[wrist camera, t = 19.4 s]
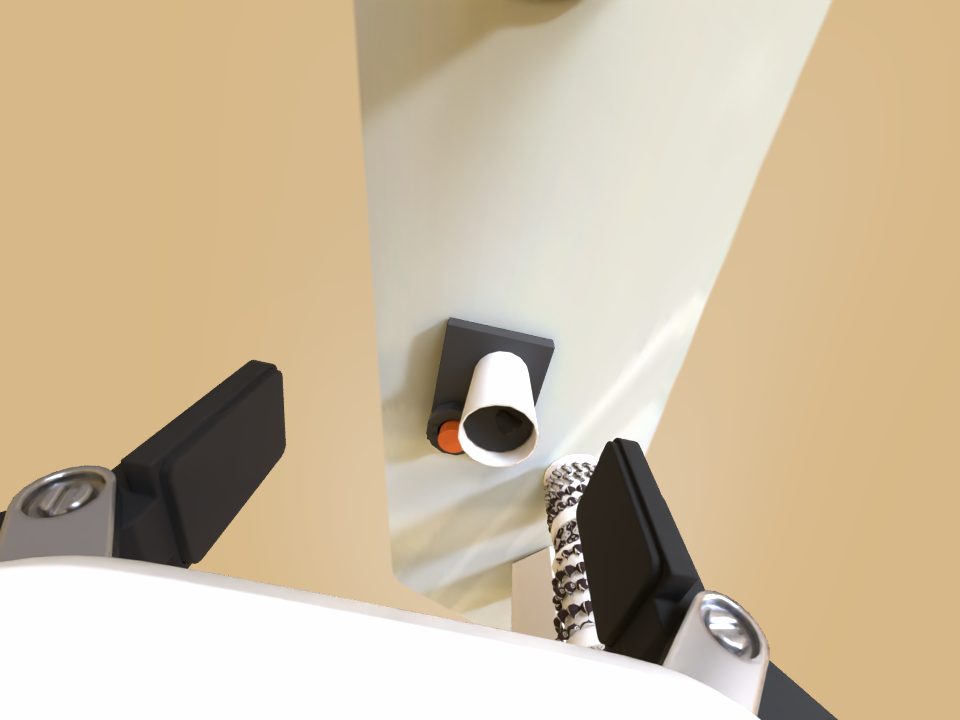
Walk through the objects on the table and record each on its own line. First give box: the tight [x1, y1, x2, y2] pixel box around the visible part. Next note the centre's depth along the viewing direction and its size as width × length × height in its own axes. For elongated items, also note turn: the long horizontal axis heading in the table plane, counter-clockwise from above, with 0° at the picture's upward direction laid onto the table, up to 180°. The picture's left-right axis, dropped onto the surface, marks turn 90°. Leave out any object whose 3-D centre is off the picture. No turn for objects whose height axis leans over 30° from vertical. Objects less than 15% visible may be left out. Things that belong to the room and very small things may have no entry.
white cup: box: [458, 351, 539, 468], centre depth 36 cm, size 7×7×10 cm
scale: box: [426, 317, 555, 455], centre depth 42 cm, size 15×11×4 cm
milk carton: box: [511, 547, 566, 642], centre depth 49 cm, size 7×7×19 cm
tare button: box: [438, 420, 463, 453], centre depth 42 cm, size 3×3×2 cm
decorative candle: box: [544, 454, 606, 651], centre depth 38 cm, size 9×9×25 cm
